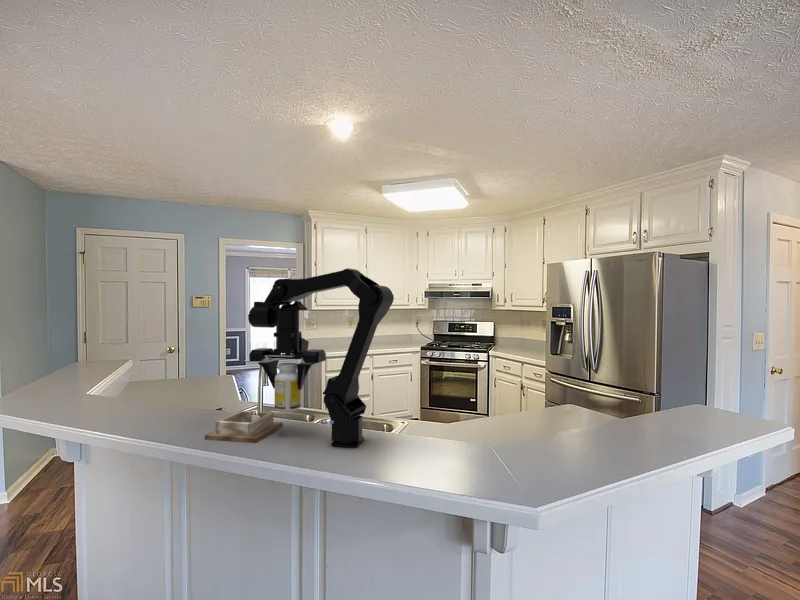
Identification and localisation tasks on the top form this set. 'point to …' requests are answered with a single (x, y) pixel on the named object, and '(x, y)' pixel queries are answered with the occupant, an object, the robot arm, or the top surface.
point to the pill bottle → (287, 388)
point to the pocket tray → (244, 427)
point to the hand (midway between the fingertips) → (287, 389)
